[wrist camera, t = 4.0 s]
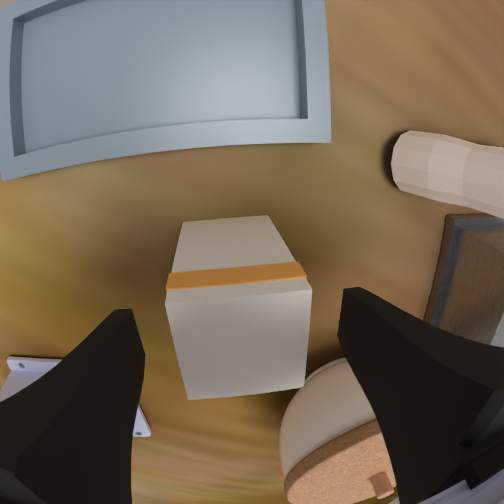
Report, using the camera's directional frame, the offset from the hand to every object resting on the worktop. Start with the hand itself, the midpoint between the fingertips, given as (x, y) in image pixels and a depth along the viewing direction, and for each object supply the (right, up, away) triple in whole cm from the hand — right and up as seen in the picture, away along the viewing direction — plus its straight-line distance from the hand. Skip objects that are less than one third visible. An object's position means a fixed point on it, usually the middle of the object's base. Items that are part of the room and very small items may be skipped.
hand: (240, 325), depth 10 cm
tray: (-4, +11, +1) cm, 12 cm away
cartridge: (-1, +2, +5) cm, 6 cm away
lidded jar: (+6, -7, +11) cm, 14 cm away
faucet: (+16, +8, +5) cm, 19 cm away
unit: (+15, +1, +8) cm, 17 cm away
